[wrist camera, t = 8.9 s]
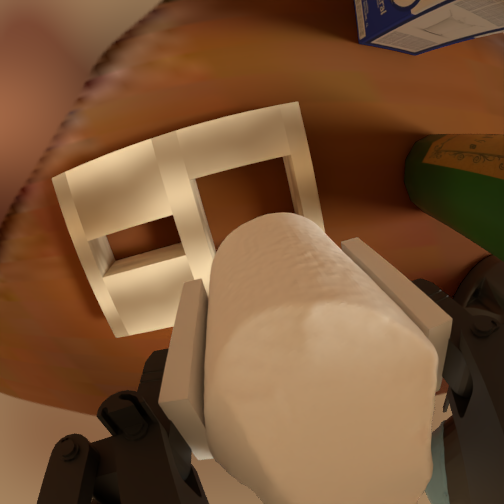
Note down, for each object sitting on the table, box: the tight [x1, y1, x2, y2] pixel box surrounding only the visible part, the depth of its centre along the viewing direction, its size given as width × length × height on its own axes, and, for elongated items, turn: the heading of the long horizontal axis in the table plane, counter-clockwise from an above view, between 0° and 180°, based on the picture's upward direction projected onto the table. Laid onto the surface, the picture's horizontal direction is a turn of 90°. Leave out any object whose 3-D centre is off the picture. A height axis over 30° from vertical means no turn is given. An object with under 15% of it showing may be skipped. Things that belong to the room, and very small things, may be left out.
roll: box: [204, 212, 438, 504], centre depth 9 cm, size 6×12×6 cm
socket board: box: [52, 102, 325, 338], centre depth 26 cm, size 16×21×4 cm
